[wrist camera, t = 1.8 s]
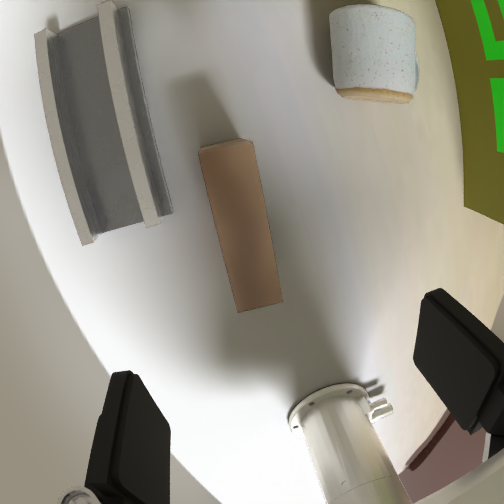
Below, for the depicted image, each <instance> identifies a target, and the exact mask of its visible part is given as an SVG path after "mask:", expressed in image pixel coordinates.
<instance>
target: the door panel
mask: <svg viewBox="0 0 504 504" xmlns="http://www.w3.org/2000/svg"><path fill="white" fill-rule="evenodd" d="M198 155H199V159H200V163H201V168H202V172H203V176H204V180H205V184H206V189H207V193H208V197H209V201H210V205H211V209H212V213H213V217H214V221H215V225H216V229H217V233H218V237H219V241H220V245H221V249H222V253H223V257H224V261H225V265H226V269H227V273H228V276H229V280H230V284H231V288H232V292H233V295H234V299H235V303H236V307H237V310H238V313H240V312H244V311H248V310H252V309H256V308H260V307H264V306H268V305H272V304H276V303H280V302H283V300H282V294H281V289H280V283H279V277H278V272H277V266H276V261H275V255H274V250H273V245H272V239H271V234H270V229H269V223H268V218H267V213H266V208H265V202H264V197H263V192H262V187H261V182H260V177H259V172H258V167H257V162H256V157H255V152H254V147H253V142H252V141H248V140H244V139H241V138H239V139H234V140H229V141H225V142H220V143H216V144H212V145H207V146H203V147H201V148H200V150H199V153H198Z"/></svg>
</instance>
